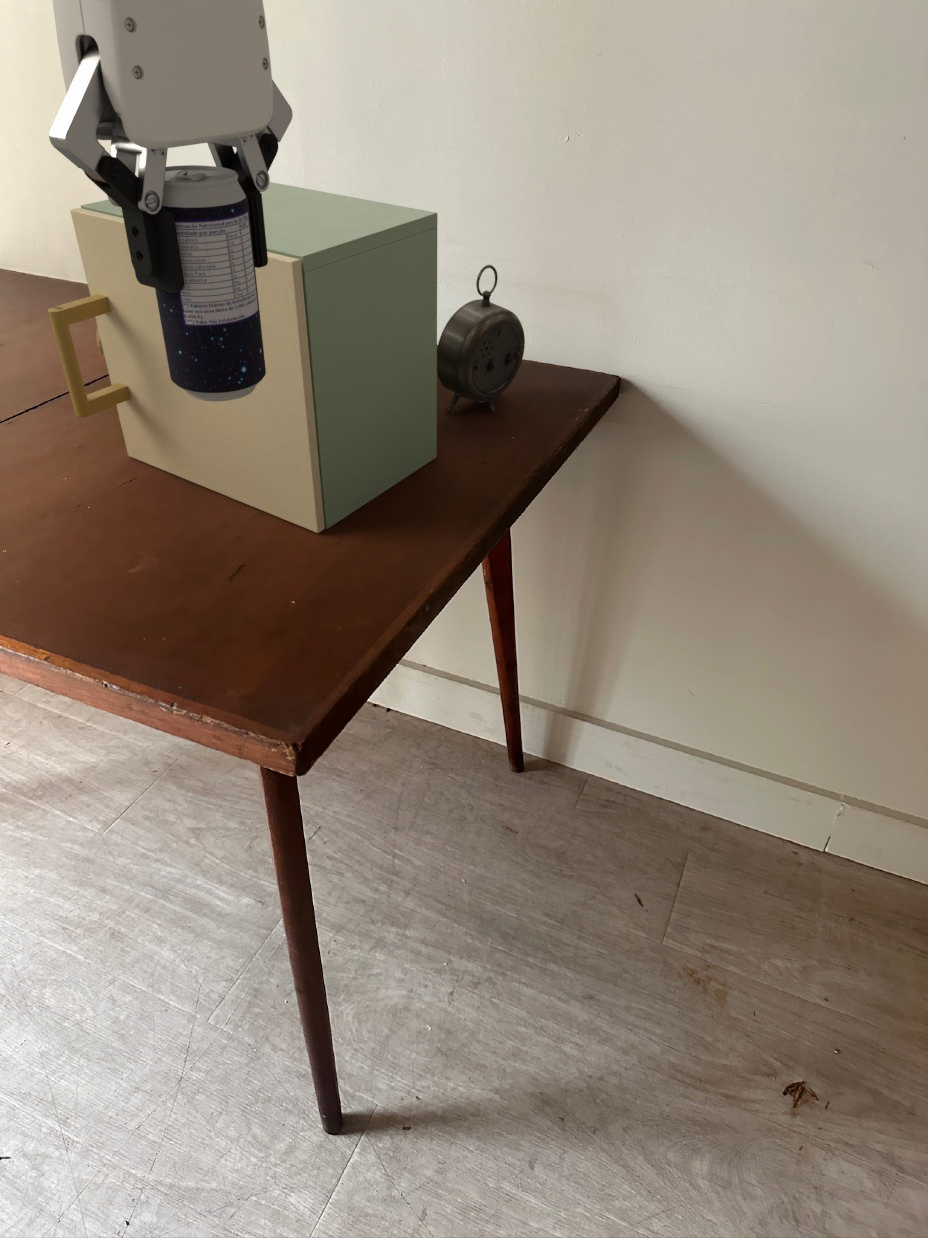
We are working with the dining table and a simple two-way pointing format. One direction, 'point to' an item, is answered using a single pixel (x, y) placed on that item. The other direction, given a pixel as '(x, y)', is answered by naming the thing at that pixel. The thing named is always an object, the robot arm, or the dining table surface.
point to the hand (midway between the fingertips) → (204, 271)
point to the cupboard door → (179, 424)
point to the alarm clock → (480, 349)
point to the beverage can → (212, 287)
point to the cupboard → (361, 334)
